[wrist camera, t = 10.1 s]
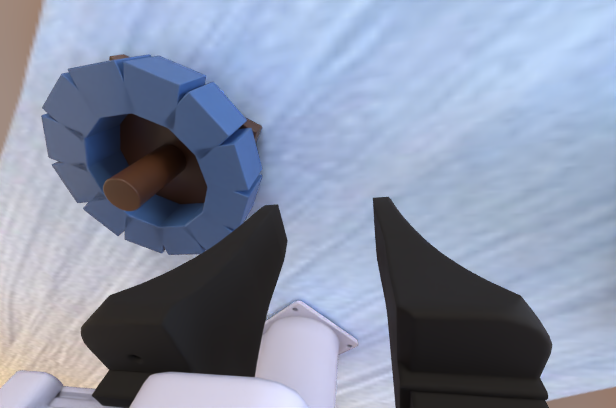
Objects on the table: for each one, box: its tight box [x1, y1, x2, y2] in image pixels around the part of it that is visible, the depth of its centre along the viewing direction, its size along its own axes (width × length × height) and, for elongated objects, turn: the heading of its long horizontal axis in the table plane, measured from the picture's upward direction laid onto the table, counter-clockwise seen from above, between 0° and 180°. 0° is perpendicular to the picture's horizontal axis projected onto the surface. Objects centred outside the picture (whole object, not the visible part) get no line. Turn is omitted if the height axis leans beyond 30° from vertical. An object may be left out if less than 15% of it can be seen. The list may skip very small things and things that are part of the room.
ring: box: [41, 55, 262, 255], centre depth 17 cm, size 12×12×3 cm
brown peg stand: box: [103, 54, 262, 211], centre depth 17 cm, size 9×9×6 cm
